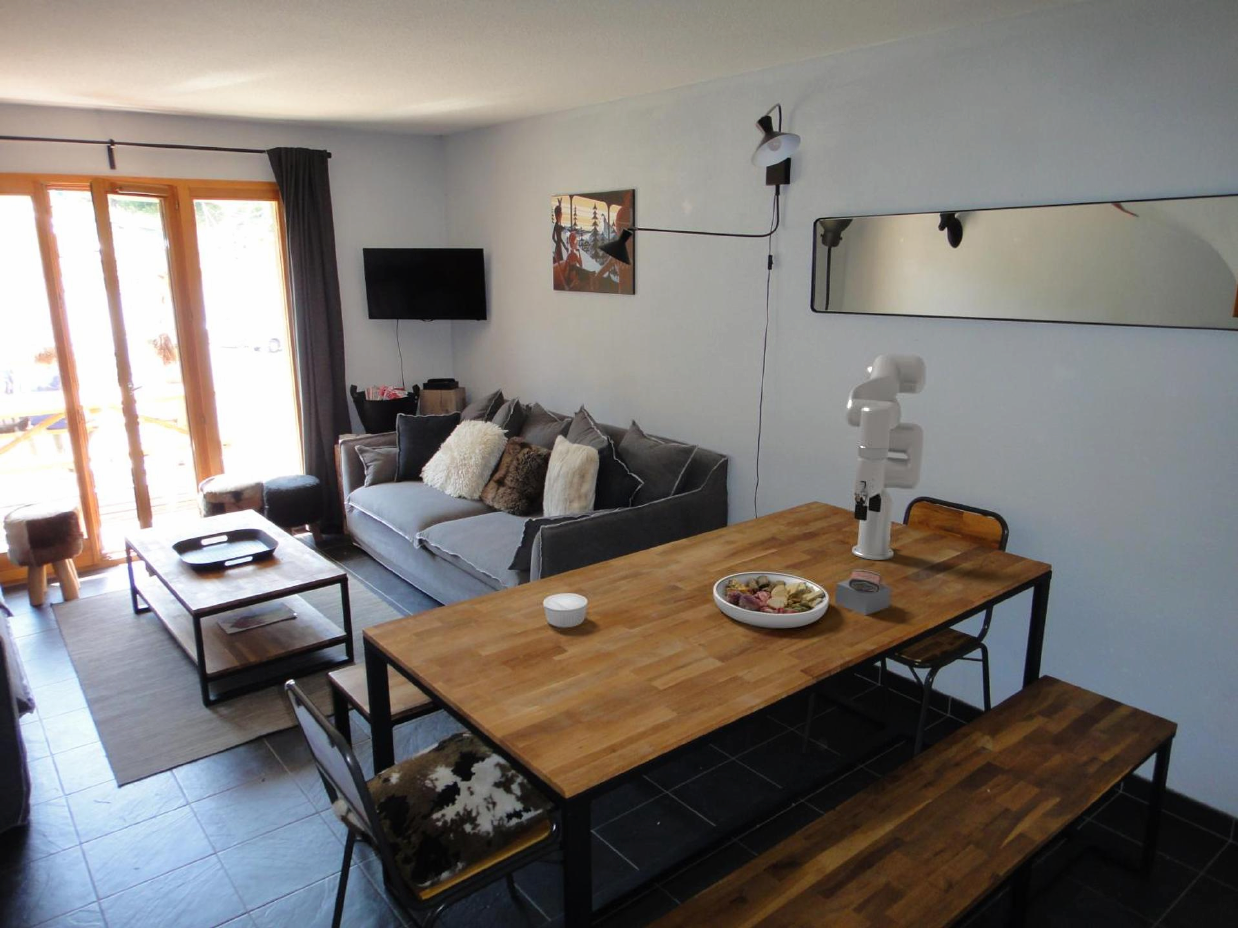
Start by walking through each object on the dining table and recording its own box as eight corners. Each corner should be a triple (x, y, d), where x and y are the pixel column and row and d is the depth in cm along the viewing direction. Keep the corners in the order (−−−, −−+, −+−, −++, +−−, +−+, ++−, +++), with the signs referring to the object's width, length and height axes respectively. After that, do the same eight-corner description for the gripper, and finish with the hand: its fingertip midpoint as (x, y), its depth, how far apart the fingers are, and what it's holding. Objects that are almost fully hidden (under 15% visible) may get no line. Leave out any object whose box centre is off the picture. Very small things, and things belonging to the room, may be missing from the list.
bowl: (745, 580, 244) (746, 554, 242) (844, 605, 227) (847, 577, 225) (691, 613, 220) (692, 585, 218) (798, 644, 203) (800, 613, 201)
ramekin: (535, 625, 211) (535, 605, 210) (555, 608, 221) (555, 590, 220) (576, 632, 207) (576, 612, 206) (594, 615, 217) (594, 596, 216)
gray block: (858, 596, 233) (860, 575, 232) (888, 608, 225) (890, 587, 224) (834, 604, 227) (836, 583, 226) (865, 616, 220) (867, 595, 218)
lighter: (879, 594, 219) (881, 582, 228) (881, 582, 218) (883, 570, 227) (847, 588, 222) (851, 575, 231) (849, 576, 221) (853, 564, 230)
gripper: (871, 445, 228) (865, 505, 232) (845, 456, 215) (840, 520, 219) (898, 449, 224) (892, 510, 228) (874, 460, 211) (868, 525, 215)
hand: (867, 515), depth 223 cm, fingers open, 9 cm apart
